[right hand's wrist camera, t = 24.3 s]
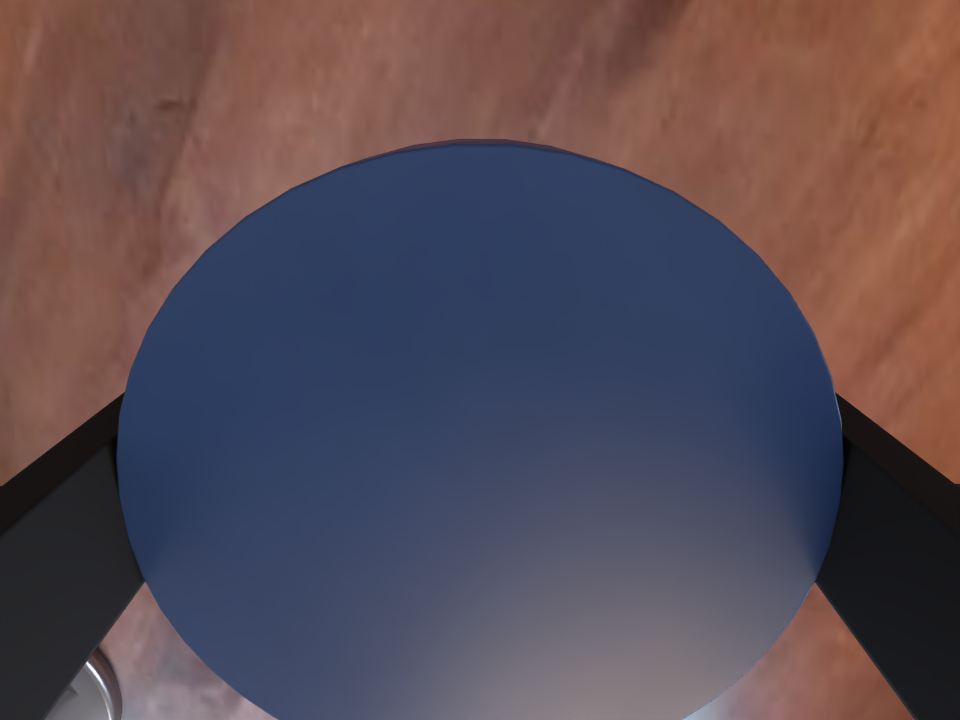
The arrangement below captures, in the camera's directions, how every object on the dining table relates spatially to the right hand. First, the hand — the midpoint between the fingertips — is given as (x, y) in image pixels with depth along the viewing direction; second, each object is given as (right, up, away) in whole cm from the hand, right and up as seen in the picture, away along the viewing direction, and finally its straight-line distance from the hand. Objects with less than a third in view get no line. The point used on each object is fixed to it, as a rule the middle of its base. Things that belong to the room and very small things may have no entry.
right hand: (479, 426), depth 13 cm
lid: (0, -1, -3) cm, 3 cm away
